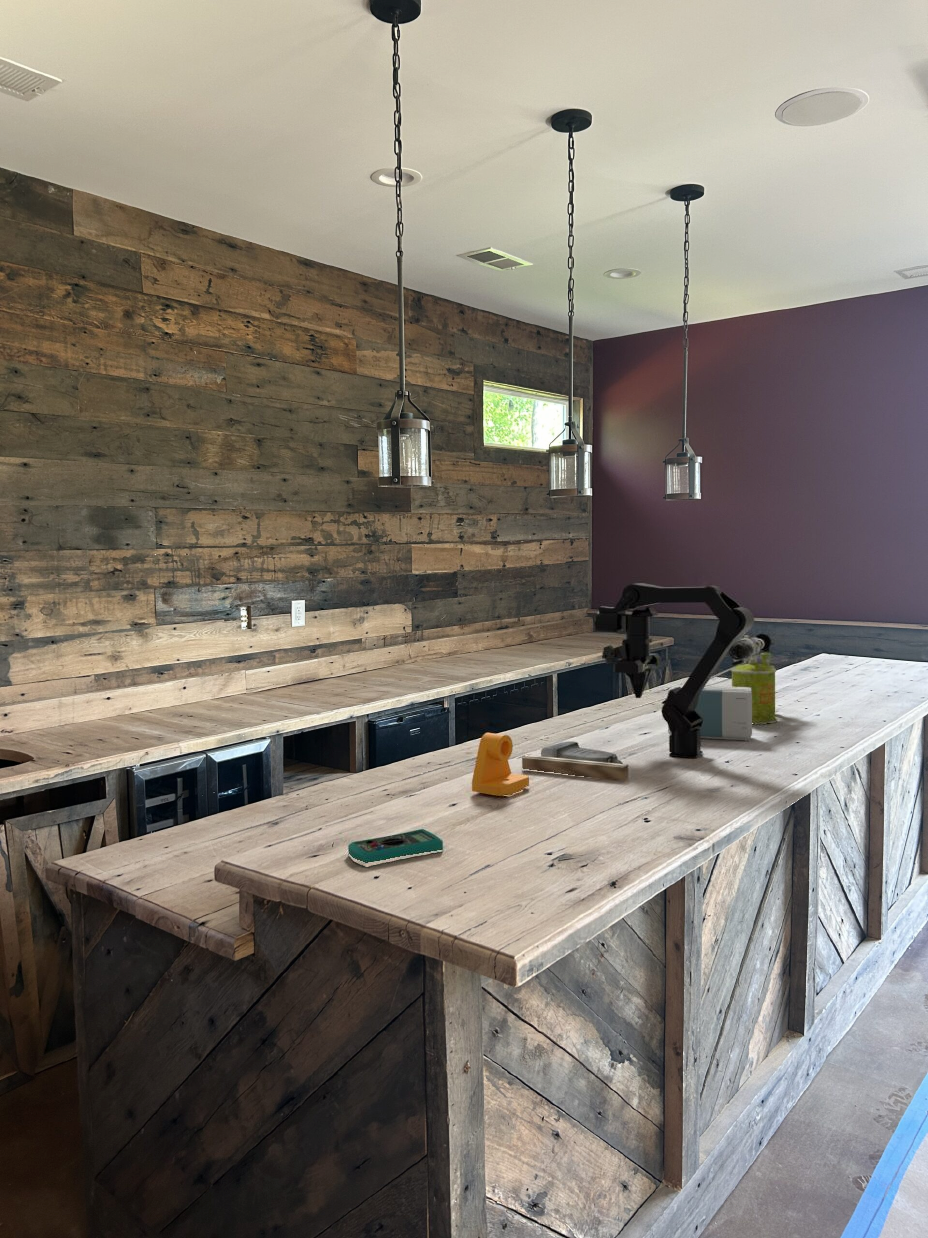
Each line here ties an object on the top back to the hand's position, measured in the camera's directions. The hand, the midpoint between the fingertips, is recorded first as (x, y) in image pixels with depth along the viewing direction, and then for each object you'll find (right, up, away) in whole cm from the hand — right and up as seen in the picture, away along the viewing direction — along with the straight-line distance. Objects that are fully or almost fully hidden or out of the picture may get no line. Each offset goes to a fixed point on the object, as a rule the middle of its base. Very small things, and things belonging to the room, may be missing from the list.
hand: (638, 697), depth 223 cm
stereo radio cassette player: (+22, -12, +14) cm, 28 cm away
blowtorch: (+40, -10, +36) cm, 54 cm away
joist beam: (-18, -15, -22) cm, 33 cm away
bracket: (-35, -17, -35) cm, 52 cm away
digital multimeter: (-54, -20, -73) cm, 93 cm away
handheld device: (-15, -15, -14) cm, 25 cm away
